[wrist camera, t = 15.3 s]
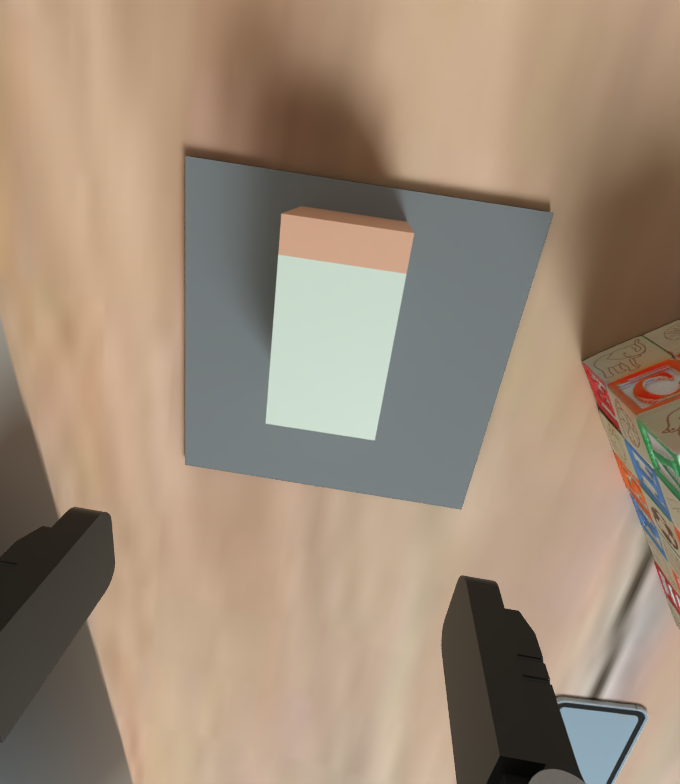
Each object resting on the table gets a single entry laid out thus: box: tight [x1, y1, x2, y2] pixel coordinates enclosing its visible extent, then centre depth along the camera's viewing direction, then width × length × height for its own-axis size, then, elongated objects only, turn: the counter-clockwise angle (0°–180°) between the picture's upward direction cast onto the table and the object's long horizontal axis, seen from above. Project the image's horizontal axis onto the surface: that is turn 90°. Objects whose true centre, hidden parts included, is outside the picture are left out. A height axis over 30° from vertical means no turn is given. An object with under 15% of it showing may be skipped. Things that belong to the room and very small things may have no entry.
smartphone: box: [556, 697, 648, 784], centre depth 38 cm, size 7×1×15 cm
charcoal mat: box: [185, 156, 554, 509], centre depth 25 cm, size 17×17×1 cm
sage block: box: [266, 206, 414, 440], centre depth 22 cm, size 5×5×9 cm
